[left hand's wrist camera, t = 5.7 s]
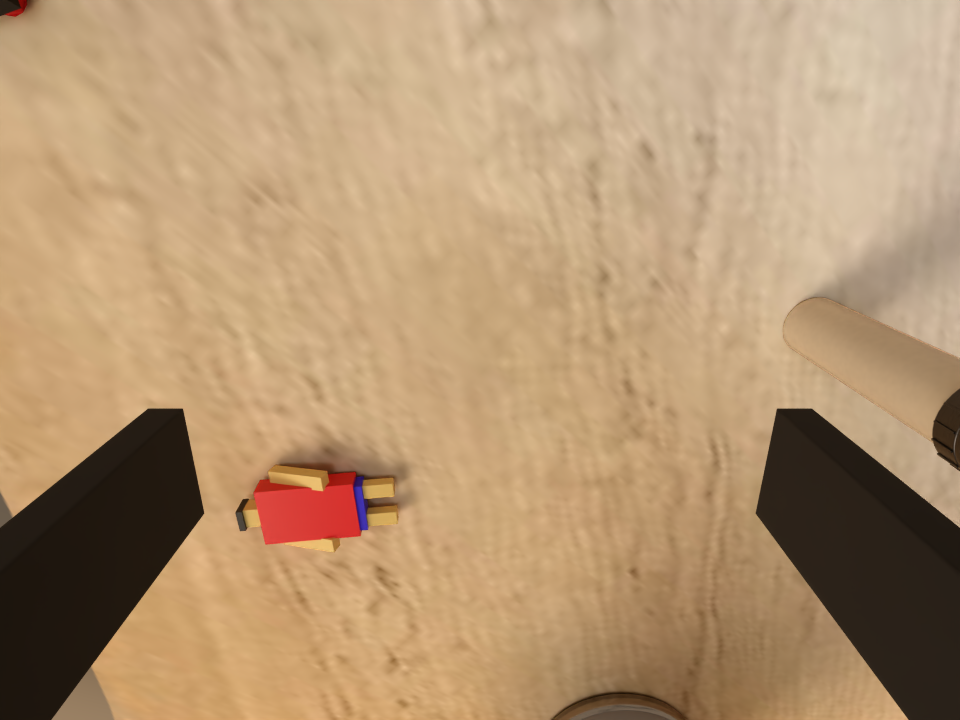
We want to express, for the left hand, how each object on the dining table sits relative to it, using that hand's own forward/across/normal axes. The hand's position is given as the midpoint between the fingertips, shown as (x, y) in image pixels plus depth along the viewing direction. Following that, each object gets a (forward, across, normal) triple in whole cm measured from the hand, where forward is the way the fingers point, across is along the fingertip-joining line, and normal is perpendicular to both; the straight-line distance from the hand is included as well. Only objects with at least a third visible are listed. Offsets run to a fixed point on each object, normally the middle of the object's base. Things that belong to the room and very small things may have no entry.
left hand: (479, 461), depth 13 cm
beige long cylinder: (+28, -24, +6) cm, 37 cm away
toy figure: (+28, +13, +20) cm, 37 cm away
